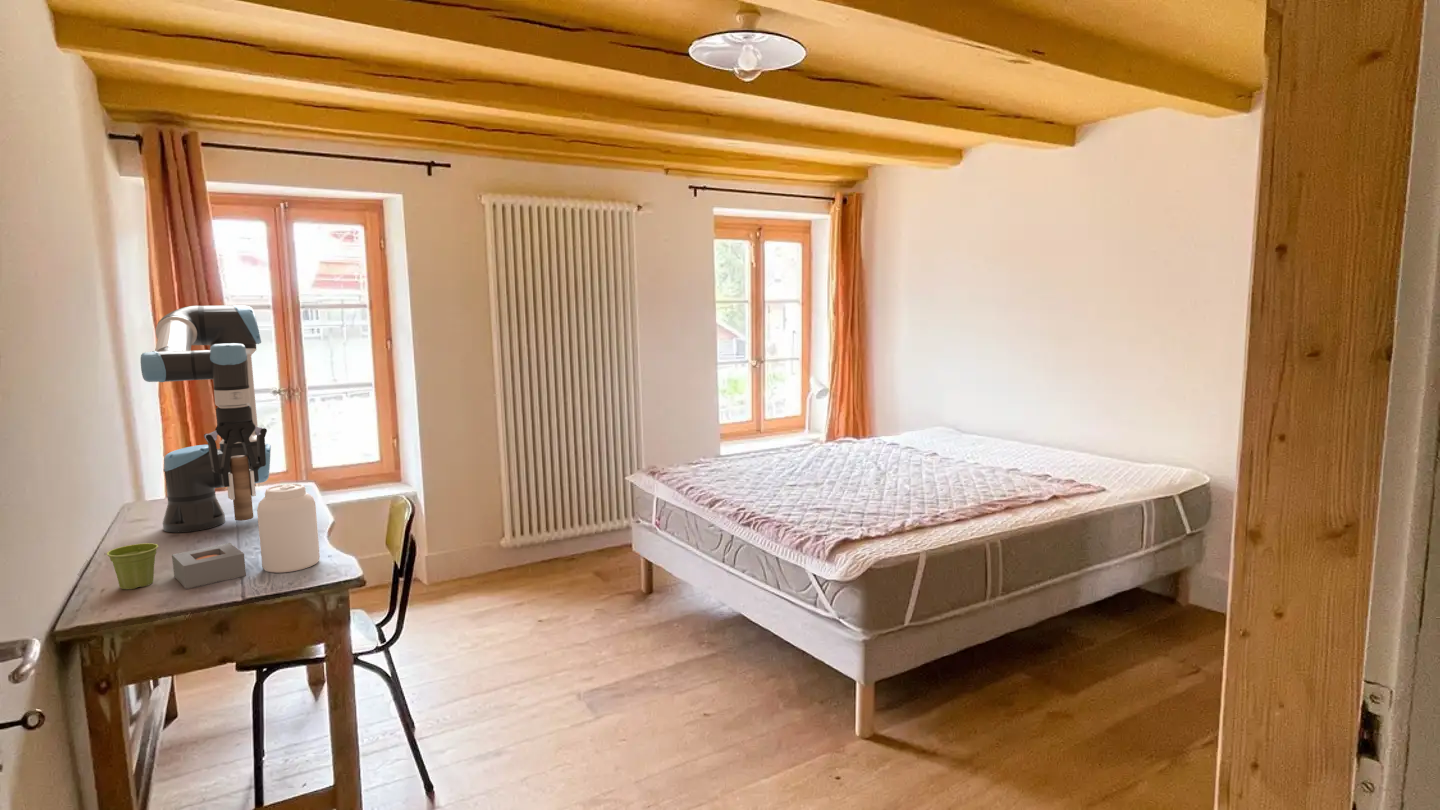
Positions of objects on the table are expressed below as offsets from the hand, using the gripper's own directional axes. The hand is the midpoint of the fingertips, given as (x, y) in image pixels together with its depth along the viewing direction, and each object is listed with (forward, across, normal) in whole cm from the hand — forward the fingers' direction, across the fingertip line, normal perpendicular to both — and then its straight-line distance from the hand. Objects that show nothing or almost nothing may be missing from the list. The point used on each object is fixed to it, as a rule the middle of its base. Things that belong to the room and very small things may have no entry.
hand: (242, 496), depth 191 cm
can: (+16, +6, -15) cm, 23 cm away
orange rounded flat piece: (+13, -10, -9) cm, 19 cm away
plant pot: (+16, -23, -3) cm, 29 cm away
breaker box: (+16, -10, -9) cm, 21 cm away
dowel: (+6, 0, 0) cm, 6 cm away
